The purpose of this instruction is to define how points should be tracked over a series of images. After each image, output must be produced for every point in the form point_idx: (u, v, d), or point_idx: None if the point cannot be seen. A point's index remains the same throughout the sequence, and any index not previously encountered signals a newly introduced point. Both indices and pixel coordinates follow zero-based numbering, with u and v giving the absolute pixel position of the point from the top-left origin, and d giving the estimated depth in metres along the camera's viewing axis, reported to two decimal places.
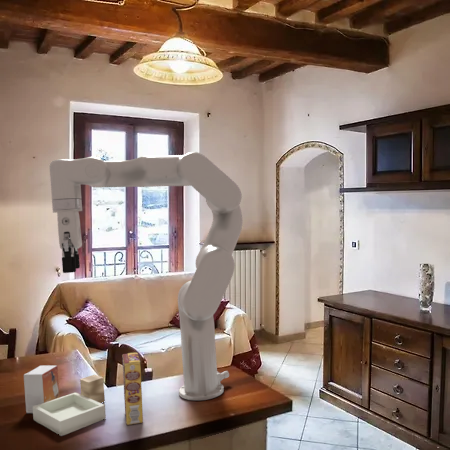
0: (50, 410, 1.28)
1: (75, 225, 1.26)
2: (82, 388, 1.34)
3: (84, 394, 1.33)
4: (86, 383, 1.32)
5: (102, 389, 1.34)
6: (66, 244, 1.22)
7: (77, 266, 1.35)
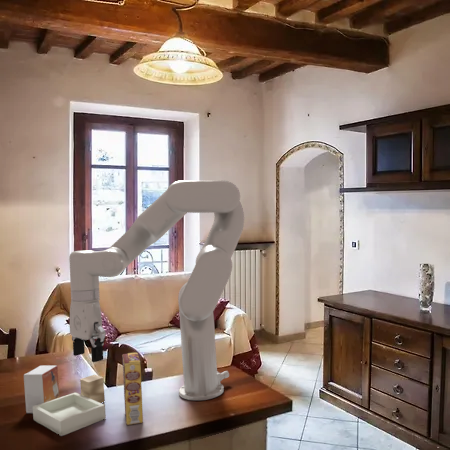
0: (50, 410, 1.28)
1: None
2: (82, 388, 1.34)
3: (84, 394, 1.33)
4: (86, 383, 1.32)
5: (102, 389, 1.34)
6: None
7: None
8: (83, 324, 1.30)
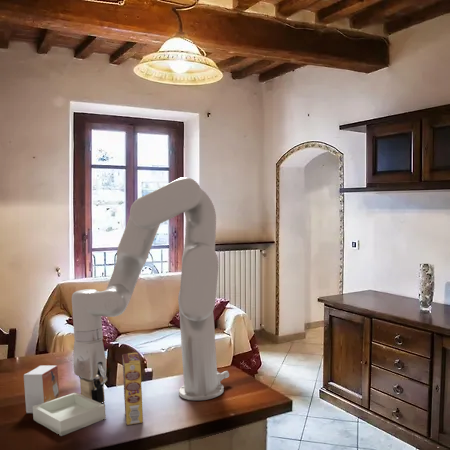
0: (50, 410, 1.28)
1: None
2: (82, 388, 1.34)
3: (84, 394, 1.33)
4: (86, 383, 1.32)
5: None
6: None
7: None
8: (87, 364, 1.30)
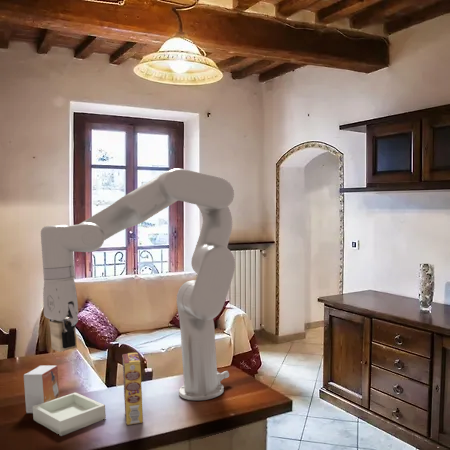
0: (50, 410, 1.28)
1: None
2: (52, 331, 1.23)
3: (54, 337, 1.23)
4: (56, 325, 1.21)
5: None
6: None
7: None
8: (57, 304, 1.20)
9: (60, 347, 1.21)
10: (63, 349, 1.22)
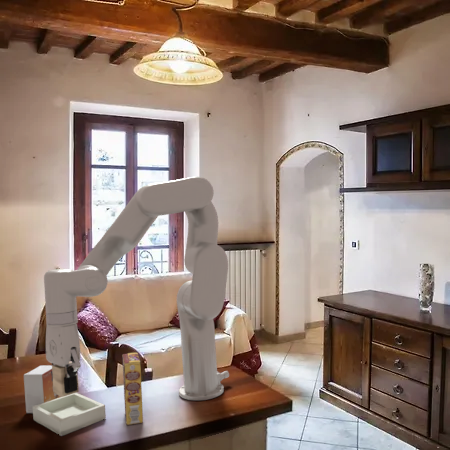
0: (50, 410, 1.28)
1: None
2: (54, 375, 1.23)
3: (56, 382, 1.23)
4: (58, 370, 1.22)
5: None
6: None
7: None
8: (59, 350, 1.20)
9: (62, 392, 1.21)
10: (65, 394, 1.22)
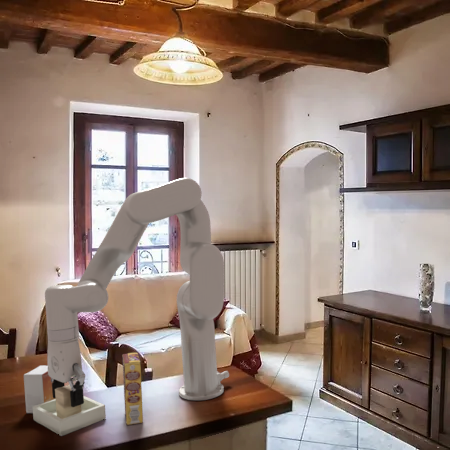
0: (50, 410, 1.28)
1: None
2: (57, 399, 1.24)
3: (59, 405, 1.23)
4: (61, 394, 1.22)
5: None
6: None
7: None
8: (61, 366, 1.20)
9: (65, 416, 1.21)
10: None
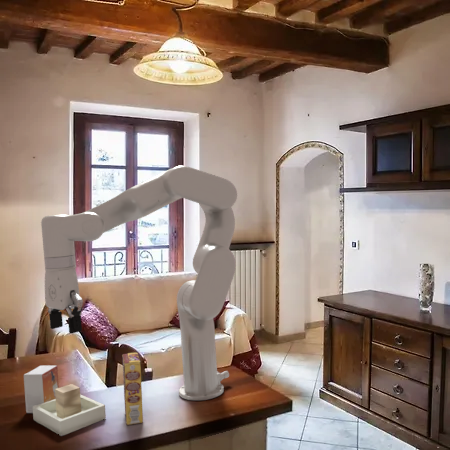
0: (50, 410, 1.28)
1: None
2: (57, 399, 1.24)
3: (59, 405, 1.23)
4: (61, 394, 1.22)
5: (78, 400, 1.24)
6: None
7: None
8: (58, 293, 1.20)
9: (65, 416, 1.21)
10: None
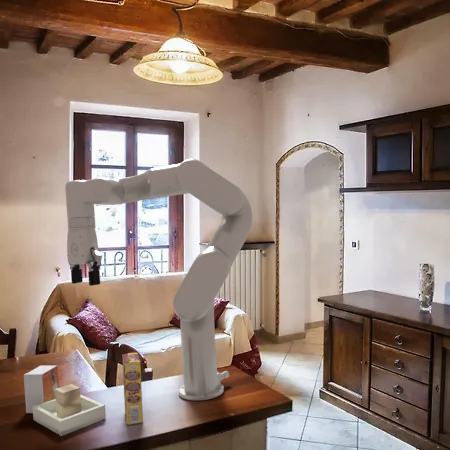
0: (50, 410, 1.28)
1: None
2: (57, 399, 1.24)
3: (59, 405, 1.23)
4: (61, 394, 1.22)
5: (78, 400, 1.24)
6: None
7: None
8: (80, 249, 1.35)
9: (65, 416, 1.21)
10: None
